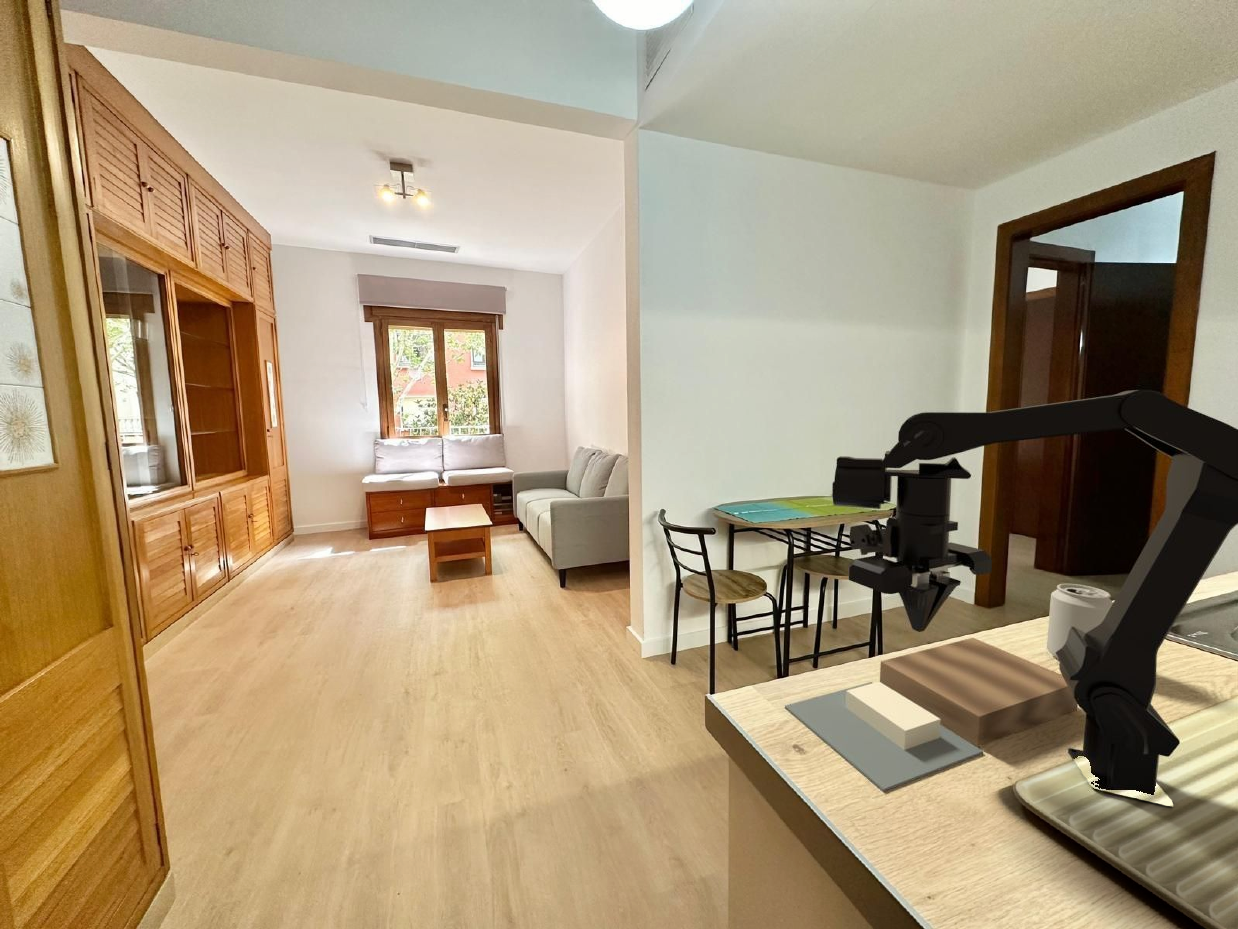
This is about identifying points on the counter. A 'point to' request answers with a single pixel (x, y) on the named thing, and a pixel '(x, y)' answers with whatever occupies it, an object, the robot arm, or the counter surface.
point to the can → (1074, 612)
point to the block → (979, 689)
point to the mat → (877, 743)
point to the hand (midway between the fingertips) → (918, 630)
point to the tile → (893, 715)
